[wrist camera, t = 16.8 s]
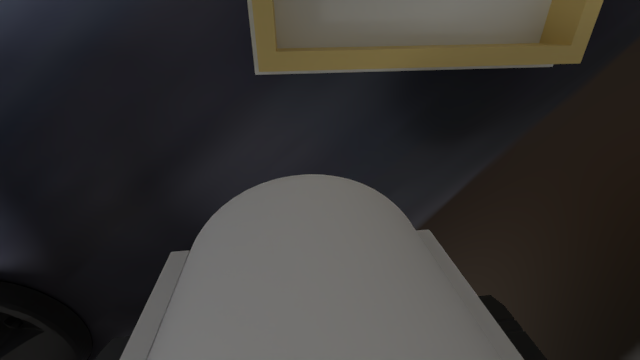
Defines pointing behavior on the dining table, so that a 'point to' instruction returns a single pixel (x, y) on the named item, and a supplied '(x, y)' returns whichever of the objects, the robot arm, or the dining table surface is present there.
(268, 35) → the panel
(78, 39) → the dining table surface
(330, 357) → the cup
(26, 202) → the dining table surface
